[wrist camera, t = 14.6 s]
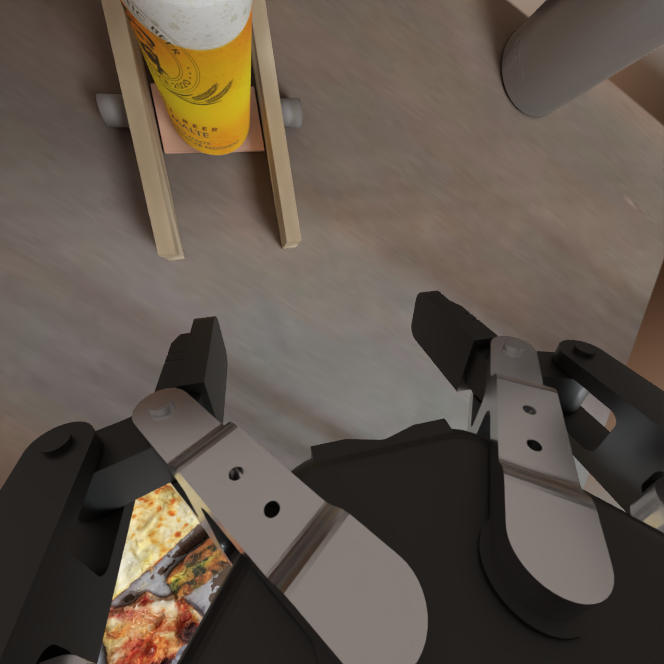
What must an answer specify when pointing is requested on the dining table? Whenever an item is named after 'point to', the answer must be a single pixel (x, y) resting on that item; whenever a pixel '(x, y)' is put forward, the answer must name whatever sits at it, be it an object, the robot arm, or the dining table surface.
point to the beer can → (199, 66)
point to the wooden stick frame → (140, 117)
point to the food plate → (174, 585)
